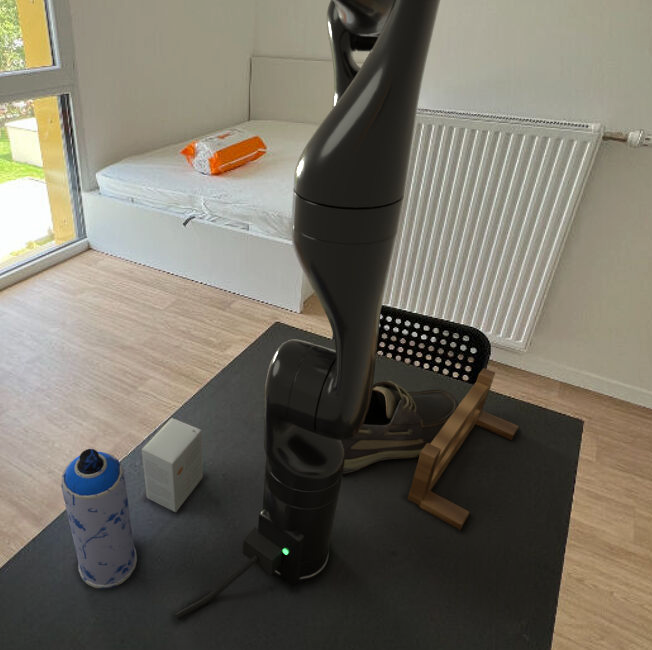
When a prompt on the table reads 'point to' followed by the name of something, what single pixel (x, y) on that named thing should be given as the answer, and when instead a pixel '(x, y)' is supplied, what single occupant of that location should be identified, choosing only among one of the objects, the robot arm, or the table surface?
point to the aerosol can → (99, 518)
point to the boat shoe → (397, 424)
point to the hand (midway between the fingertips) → (337, 273)
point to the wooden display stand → (454, 450)
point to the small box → (173, 464)
